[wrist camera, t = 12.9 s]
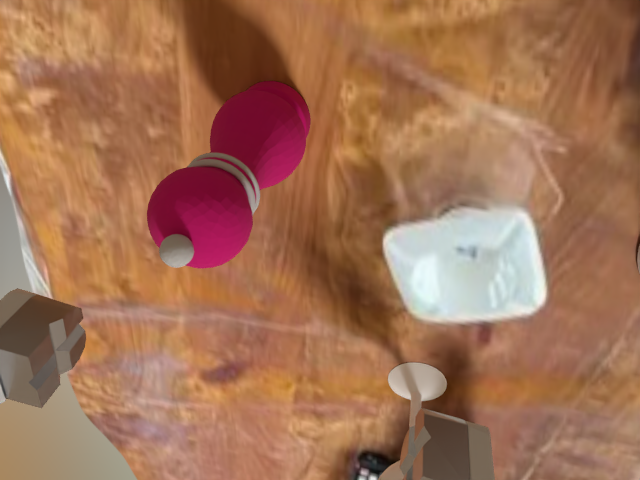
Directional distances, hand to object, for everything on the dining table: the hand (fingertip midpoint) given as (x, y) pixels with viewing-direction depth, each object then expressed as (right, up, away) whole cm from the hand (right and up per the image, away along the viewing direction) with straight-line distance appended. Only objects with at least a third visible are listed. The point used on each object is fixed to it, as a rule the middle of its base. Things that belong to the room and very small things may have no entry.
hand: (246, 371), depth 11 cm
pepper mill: (-2, +13, +30) cm, 33 cm away
